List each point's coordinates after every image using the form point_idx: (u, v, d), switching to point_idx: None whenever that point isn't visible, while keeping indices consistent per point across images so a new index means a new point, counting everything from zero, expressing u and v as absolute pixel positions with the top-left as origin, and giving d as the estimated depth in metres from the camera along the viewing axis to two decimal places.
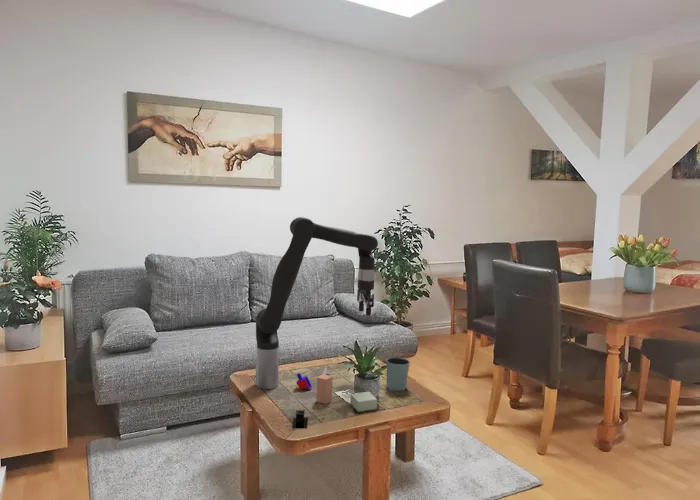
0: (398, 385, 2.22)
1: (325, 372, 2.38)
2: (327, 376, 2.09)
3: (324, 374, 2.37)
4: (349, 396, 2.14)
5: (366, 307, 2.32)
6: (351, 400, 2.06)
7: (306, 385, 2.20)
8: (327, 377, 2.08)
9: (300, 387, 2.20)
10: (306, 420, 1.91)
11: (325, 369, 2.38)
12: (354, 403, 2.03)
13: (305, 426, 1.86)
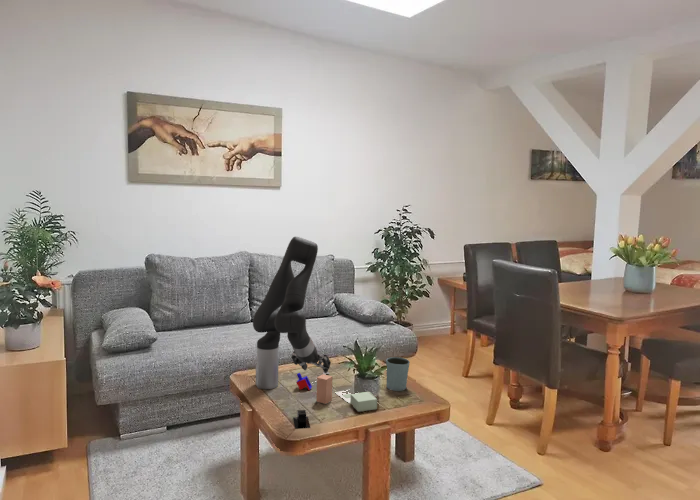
0: (398, 385, 2.22)
1: None
2: (327, 376, 2.09)
3: (324, 374, 2.36)
4: (349, 396, 2.14)
5: None
6: (351, 400, 2.06)
7: (306, 385, 2.20)
8: (327, 377, 2.08)
9: (300, 387, 2.20)
10: (307, 419, 1.91)
11: None
12: (354, 403, 2.03)
13: (308, 425, 1.87)
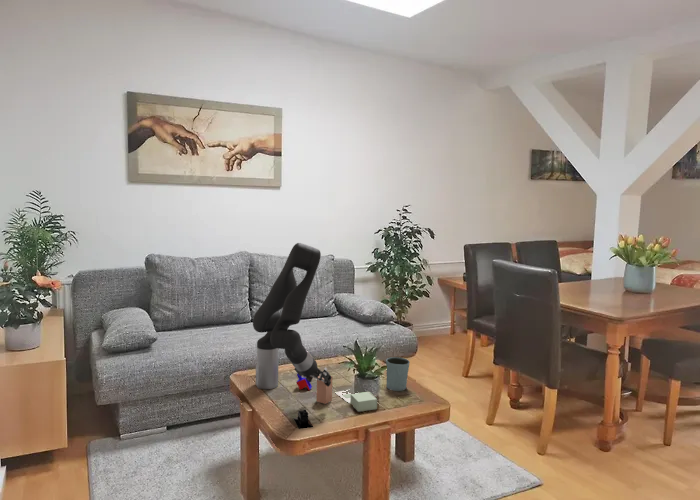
0: (398, 385, 2.22)
1: None
2: None
3: None
4: (349, 396, 2.14)
5: None
6: (351, 400, 2.06)
7: (306, 385, 2.20)
8: None
9: (300, 387, 2.20)
10: (307, 419, 1.92)
11: (325, 369, 2.38)
12: (354, 403, 2.03)
13: (311, 425, 1.87)
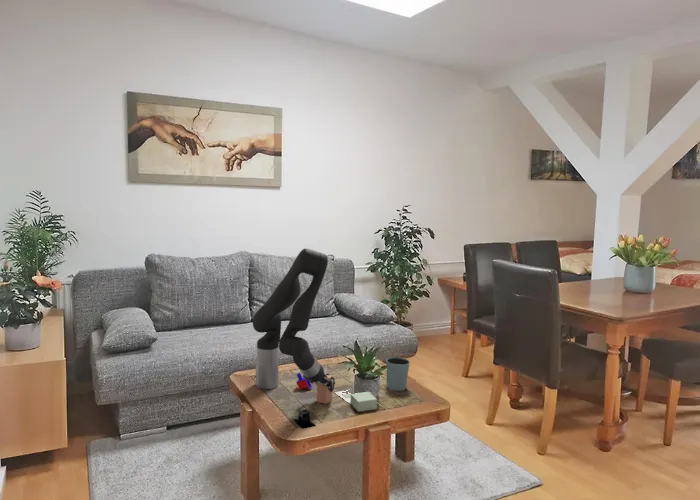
0: (398, 385, 2.22)
1: (325, 372, 2.38)
2: (327, 376, 2.09)
3: None
4: (349, 396, 2.14)
5: None
6: (351, 400, 2.06)
7: (306, 385, 2.20)
8: None
9: (300, 387, 2.20)
10: None
11: (325, 369, 2.37)
12: (354, 403, 2.03)
13: (313, 424, 1.88)
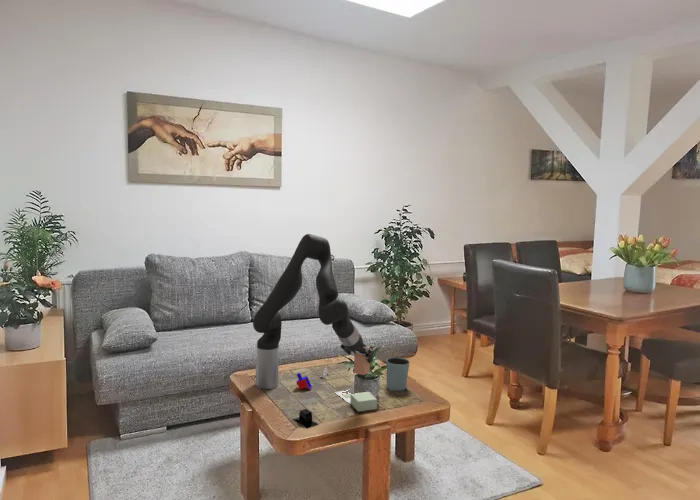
0: (398, 385, 2.22)
1: (325, 372, 2.38)
2: None
3: (324, 374, 2.36)
4: (349, 396, 2.14)
5: None
6: (351, 400, 2.06)
7: (306, 385, 2.20)
8: None
9: (300, 387, 2.20)
10: None
11: (325, 369, 2.37)
12: (354, 403, 2.03)
13: (315, 422, 1.89)
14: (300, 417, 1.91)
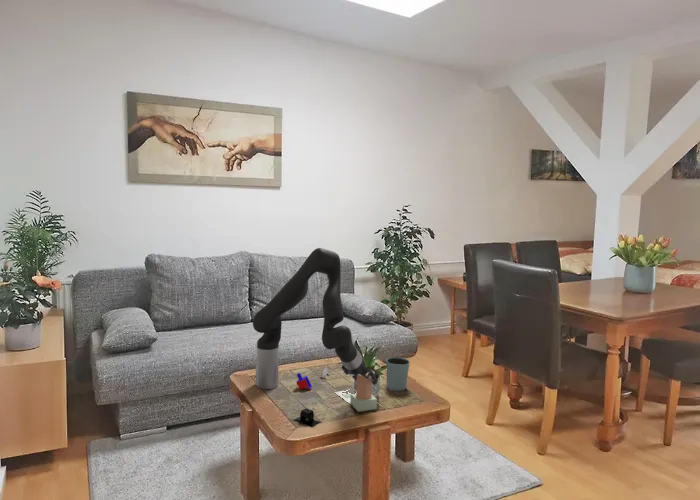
0: (398, 385, 2.22)
1: (325, 372, 2.38)
2: None
3: (324, 374, 2.36)
4: (349, 396, 2.14)
5: None
6: (351, 400, 2.06)
7: (306, 385, 2.20)
8: None
9: (300, 387, 2.20)
10: None
11: (325, 369, 2.37)
12: (354, 403, 2.03)
13: (317, 421, 1.91)
14: (301, 417, 1.91)
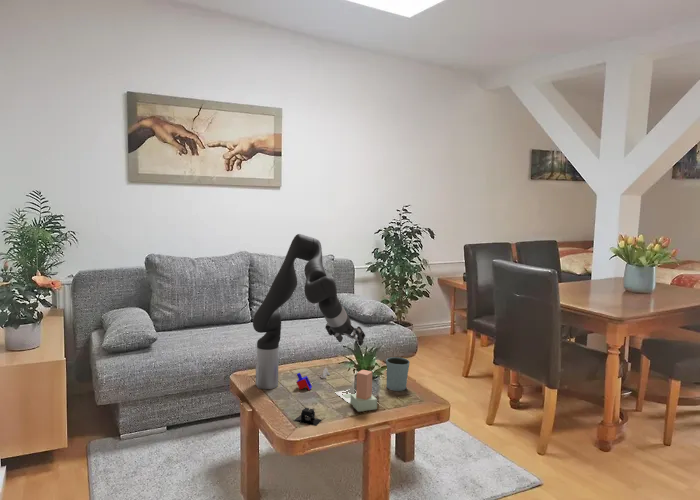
0: (398, 385, 2.22)
1: (325, 372, 2.38)
2: (367, 371, 2.04)
3: (324, 374, 2.36)
4: (349, 396, 2.14)
5: None
6: (351, 400, 2.06)
7: (306, 385, 2.20)
8: (367, 372, 2.03)
9: (300, 387, 2.20)
10: (306, 416, 1.94)
11: (325, 369, 2.37)
12: (354, 403, 2.03)
13: (318, 419, 1.92)
14: (302, 417, 1.91)
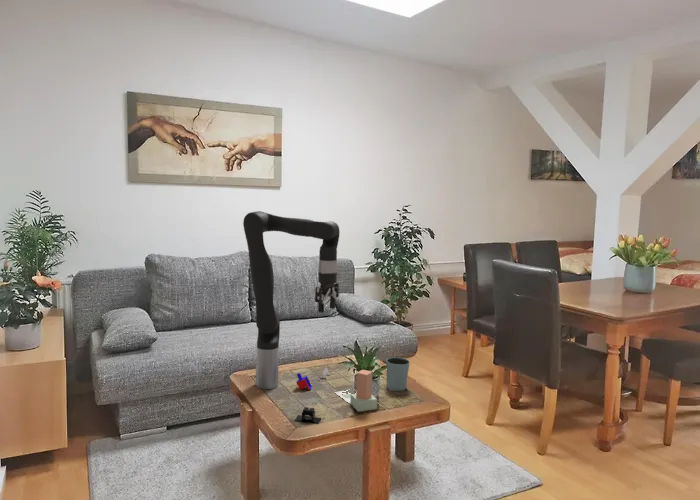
0: (398, 385, 2.22)
1: (325, 372, 2.38)
2: (367, 371, 2.04)
3: (324, 374, 2.36)
4: (349, 396, 2.14)
5: (318, 302, 2.07)
6: (351, 400, 2.06)
7: (306, 385, 2.20)
8: (367, 372, 2.03)
9: (300, 387, 2.20)
10: None
11: (325, 369, 2.37)
12: (354, 403, 2.03)
13: None
14: (302, 416, 1.91)
